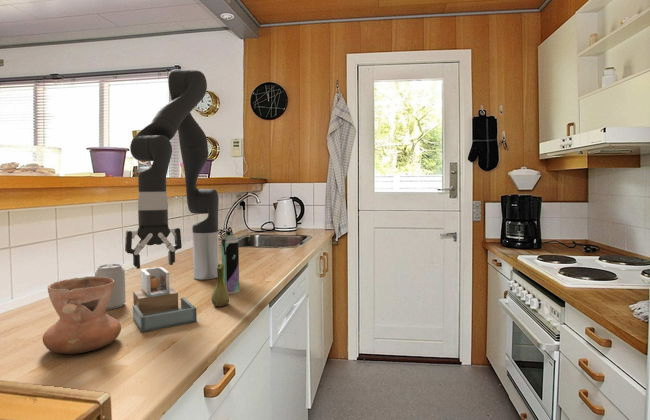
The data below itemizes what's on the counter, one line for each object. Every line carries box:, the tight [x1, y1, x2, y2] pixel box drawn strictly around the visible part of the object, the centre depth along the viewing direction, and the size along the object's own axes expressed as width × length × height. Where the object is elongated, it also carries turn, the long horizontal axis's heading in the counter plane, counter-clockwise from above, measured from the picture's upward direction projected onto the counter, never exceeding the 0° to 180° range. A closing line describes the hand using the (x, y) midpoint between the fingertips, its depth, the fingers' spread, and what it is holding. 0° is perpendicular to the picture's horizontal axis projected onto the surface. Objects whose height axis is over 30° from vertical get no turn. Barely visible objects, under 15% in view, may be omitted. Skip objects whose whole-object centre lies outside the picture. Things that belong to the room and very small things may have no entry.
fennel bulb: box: [211, 263, 230, 307], centre depth 115 cm, size 6×5×12 cm
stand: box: [132, 285, 179, 314], centre depth 111 cm, size 9×10×5 cm
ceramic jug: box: [42, 275, 122, 355], centre depth 86 cm, size 18×14×14 cm
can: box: [94, 263, 127, 311], centre depth 114 cm, size 8×8×12 cm
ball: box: [150, 278, 160, 289], centre depth 112 cm, size 3×3×3 cm
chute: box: [140, 266, 170, 297], centre depth 111 cm, size 9×6×6 cm, turn 34°
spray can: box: [220, 230, 240, 295], centre depth 129 cm, size 6×6×20 cm
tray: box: [132, 296, 198, 333], centre depth 103 cm, size 12×13×4 cm
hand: (154, 266), depth 110 cm, fingers open, 8 cm apart
